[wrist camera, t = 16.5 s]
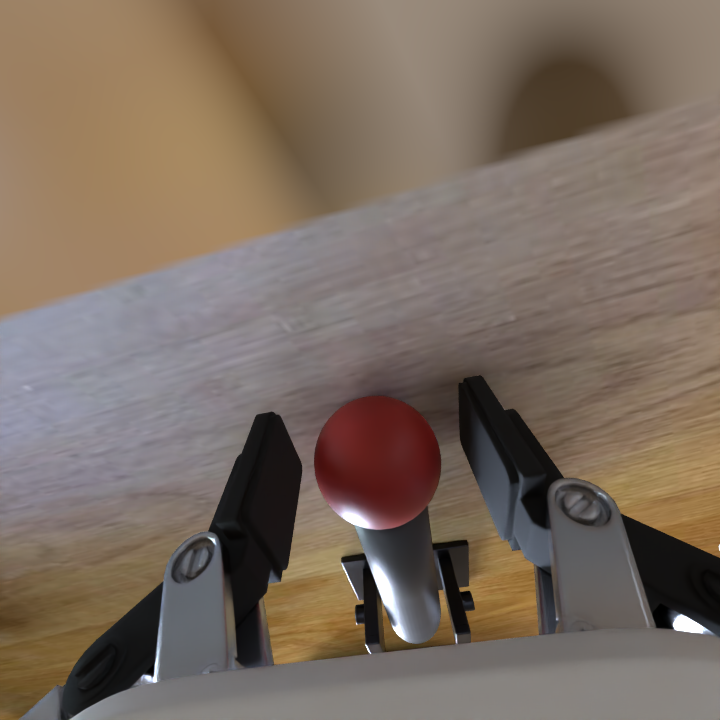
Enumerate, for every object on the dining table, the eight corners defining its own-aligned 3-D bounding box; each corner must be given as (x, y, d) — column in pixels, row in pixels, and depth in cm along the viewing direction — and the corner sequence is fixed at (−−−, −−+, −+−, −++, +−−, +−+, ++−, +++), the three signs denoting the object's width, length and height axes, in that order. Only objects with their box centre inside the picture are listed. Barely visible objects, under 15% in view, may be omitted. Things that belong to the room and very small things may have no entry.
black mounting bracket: (341, 557, 17) (340, 640, 14) (467, 540, 16) (493, 622, 13) (358, 594, 20) (360, 672, 16) (467, 581, 19) (490, 657, 16)
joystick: (306, 383, 10) (286, 483, 7) (420, 362, 10) (456, 457, 7) (377, 580, 19) (384, 672, 15) (442, 572, 18) (464, 663, 15)
